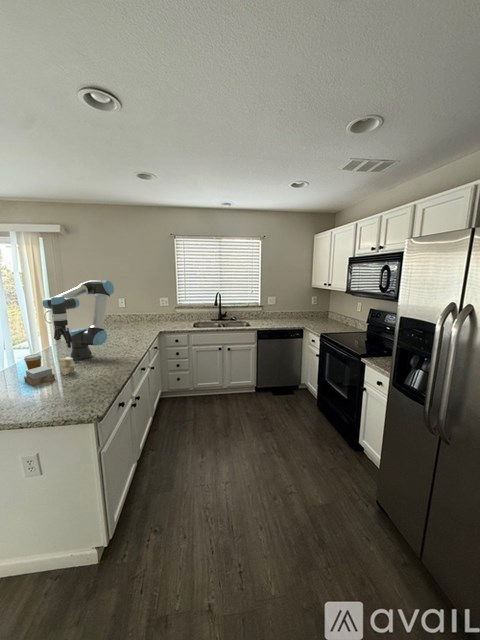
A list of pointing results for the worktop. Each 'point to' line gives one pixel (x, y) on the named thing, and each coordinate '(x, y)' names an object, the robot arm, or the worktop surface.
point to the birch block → (66, 365)
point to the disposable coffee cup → (33, 361)
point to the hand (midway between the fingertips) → (64, 350)
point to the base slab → (39, 380)
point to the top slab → (39, 372)
